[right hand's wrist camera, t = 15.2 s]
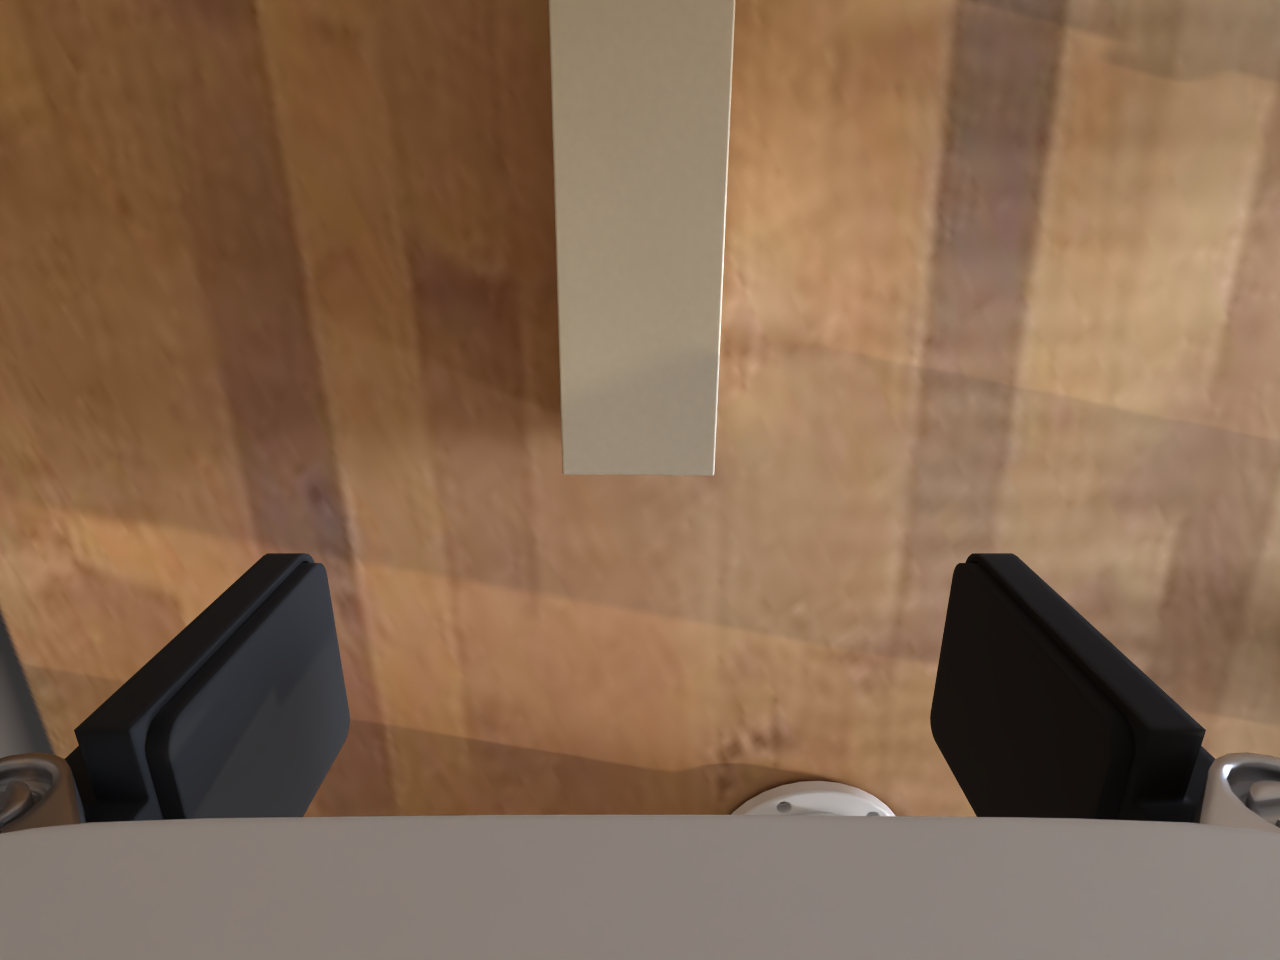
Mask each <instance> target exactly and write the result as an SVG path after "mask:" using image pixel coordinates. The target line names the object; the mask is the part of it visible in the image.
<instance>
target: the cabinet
mask: <svg viewBox="0 0 1280 960" xmlns="http://www.w3.org/2000/svg"><path fill="white" fill-rule="evenodd" d="M734 19H735V0H549V31H550V65H551V98H552V132H553V166H554V200H555V234H556V268H557V302H558V336H559V369H560V403H561V437H562V471H563V474H582V475H714V467H715V444H716V422H717V400H718V377H719V355H720V332H721V310H722V288H723V265H724V243H725V220H726V198H727V175H728V153H729V131H730V108H731V86H732V63H733V41H734Z"/></svg>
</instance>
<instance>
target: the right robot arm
mask: <svg viewBox="0 0 1280 960" xmlns="http://www.w3.org/2000/svg"><path fill="white" fill-rule="evenodd" d="M349 721H350V716H349V708H348V702H347V696H346V690H345V684H344V677H343V671H342V665H341V659H340V653H339V646H338V640H337V634H336V628H335V622H334V616H333V609H332V603H331V597H330V591H329V585H328V578H327V573H326V569H325V567H324V565H322V564H321V563H314V560H313V559H312V557H311V556H310V555H309V554H266V555H264V556H263V557H262V558H261V559H260V560H258V561H257V562H256V563H255V564H254V565H253V566H252V567H251V568H250V569H249V570H248V571H247V572H245V573H244V574H243V575H242V576H241V577H240V578H239V579H238V580H237V581H236V582H235V583H233V584H232V585H231V586H230V587H229V588H228V589H227V590H226V591H225V592H224V593H223V594H222V595H220V596H219V597H218V598H217V599H216V600H215V601H214V602H213V603H212V604H211V605H210V606H209V607H207V608H206V609H205V610H204V611H203V612H202V613H201V614H200V615H199V616H198V617H197V618H195V619H194V620H193V621H192V622H191V623H190V624H189V625H188V626H187V627H186V628H185V629H184V630H182V631H181V632H180V633H179V634H178V635H177V636H176V637H175V638H174V639H173V640H172V641H170V642H169V643H168V644H167V645H166V646H165V647H164V648H163V649H162V650H161V651H160V652H159V653H157V654H156V655H155V656H154V657H153V658H152V659H151V660H150V661H149V662H148V663H147V664H145V665H144V666H143V667H142V668H141V669H140V670H139V671H138V672H137V673H136V674H135V675H134V676H132V677H131V678H130V679H129V680H128V681H127V682H126V683H125V684H124V685H123V686H122V687H121V688H119V689H118V690H117V691H116V692H115V693H114V694H113V695H112V696H111V697H110V698H109V699H107V700H106V701H105V702H104V703H103V704H102V705H101V706H100V707H99V708H98V709H97V710H96V711H94V712H93V713H92V714H91V715H90V716H89V717H88V718H87V719H86V720H85V721H84V722H82V723H81V724H80V725H79V726H78V727H77V728H76V729H75V730H74V731H75V734H76V738H77V741H78V744H79V746H78V747H77V748H76V749H75V750H74V751H73V752H72V753H71V754H70V755H69V756H68V757H67V758H66V759H63V758H61V757H58V756H56V755H53V754H46V753H27V754H20V755H12V756H7V757H4V758H0V960H1280V758H1276V757H1273V756H1268V755H1261V754H1253V753H1234V754H1227V755H1224V756H1222V757H1219V758H1217V759H1214V758H1213V757H1212V756H1211V755H1210V754H1209V753H1208V752H1207V751H1206V750H1205V749H1204V748H1203V747H1202V746H1201V744H1202V741H1203V738H1204V734H1205V731H1206V730H1205V729H1204V728H1203V727H1202V726H1201V725H1200V724H1199V723H1198V722H1196V721H1195V720H1194V719H1193V718H1192V717H1191V716H1190V715H1189V714H1188V713H1187V712H1186V711H1184V710H1183V709H1182V708H1181V707H1180V706H1179V705H1178V704H1177V703H1176V702H1175V701H1174V700H1173V699H1171V698H1170V697H1169V696H1168V695H1167V694H1166V693H1165V692H1164V691H1163V690H1162V689H1161V688H1159V687H1158V686H1157V685H1156V684H1155V683H1154V682H1153V681H1152V680H1151V679H1150V678H1149V677H1148V676H1146V675H1145V674H1144V673H1143V672H1142V671H1141V670H1140V669H1139V668H1138V667H1137V666H1136V665H1135V664H1133V663H1132V662H1131V661H1130V660H1129V659H1128V658H1127V657H1126V656H1125V655H1124V654H1123V653H1121V652H1120V651H1119V650H1118V649H1117V648H1116V647H1115V646H1114V645H1113V644H1112V643H1111V642H1110V641H1108V640H1107V639H1106V638H1105V637H1104V636H1103V635H1102V634H1101V633H1100V632H1099V631H1098V630H1096V629H1095V628H1094V627H1093V626H1092V625H1091V624H1090V623H1089V622H1088V621H1087V620H1086V619H1085V618H1083V617H1082V616H1081V615H1080V614H1079V613H1078V612H1077V611H1076V610H1075V609H1074V608H1073V607H1071V606H1070V605H1069V604H1068V603H1067V602H1066V601H1065V600H1064V599H1063V598H1062V597H1061V596H1060V595H1058V594H1057V593H1056V592H1055V591H1054V590H1053V589H1052V588H1051V587H1050V586H1049V585H1048V584H1047V583H1045V582H1044V581H1043V580H1042V579H1041V578H1040V577H1039V576H1038V575H1037V574H1036V573H1035V572H1033V571H1032V570H1031V569H1030V568H1029V567H1028V566H1027V565H1026V564H1025V563H1024V562H1023V561H1022V560H1020V559H1019V558H1018V557H1017V556H1016V555H1014V554H971V555H970V556H969V557H968V559H967V560H966V563H959V564H958V565H956V567H955V569H954V573H953V578H952V585H951V591H950V597H949V603H948V609H947V616H946V622H945V628H944V634H943V640H942V646H941V653H940V659H939V665H938V671H937V677H936V684H935V690H934V696H933V702H932V708H931V716H930V721H931V730H932V734H933V737H934V739H935V742H936V744H937V745H938V747H939V749H940V751H941V753H942V754H943V756H944V758H945V760H946V762H947V763H948V765H949V767H950V769H951V771H952V772H953V774H954V776H955V778H956V780H957V781H958V783H959V785H960V787H961V789H962V790H963V792H964V794H965V796H966V798H967V799H968V801H969V803H970V805H971V807H972V808H973V810H974V812H975V814H976V816H977V817H919V816H895V815H894V813H893V812H892V811H891V810H890V809H889V808H888V806H887V805H885V804H884V803H883V802H881V801H880V800H879V799H877V798H876V797H875V796H873V795H871V794H869V793H867V792H865V791H863V790H861V789H859V788H856V787H852V786H849V785H845V784H842V783H835V782H826V781H805V782H797V783H792V784H786V785H782V786H779V787H776V788H773V789H770V790H768V791H765V792H763V793H761V794H759V795H757V796H755V797H753V798H752V799H750V800H748V801H747V802H745V803H744V804H743V805H741V806H740V807H739V808H738V809H736V810H735V811H734V812H733V813H732V814H731V815H449V816H362V817H303V816H304V814H305V812H306V810H307V808H308V807H309V805H310V803H311V801H312V799H313V798H314V796H315V794H316V792H317V790H318V789H319V787H320V785H321V783H322V781H323V780H324V778H325V776H326V774H327V772H328V771H329V769H330V767H331V765H332V763H333V762H334V760H335V758H336V756H337V754H338V753H339V751H340V749H341V747H342V745H343V744H344V742H345V739H346V737H347V734H348V730H349Z"/></svg>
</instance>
